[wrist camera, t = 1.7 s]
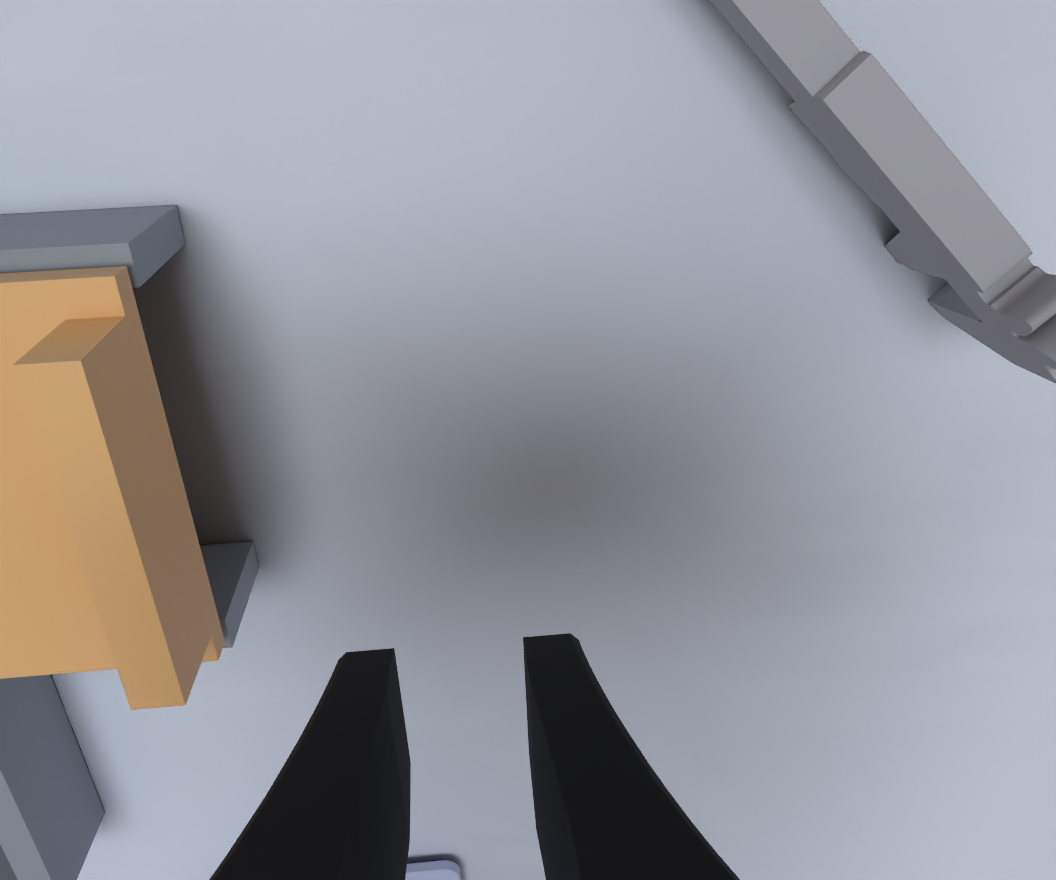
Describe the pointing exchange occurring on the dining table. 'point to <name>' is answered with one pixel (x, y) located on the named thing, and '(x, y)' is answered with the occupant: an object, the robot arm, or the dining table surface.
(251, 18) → the dining table surface
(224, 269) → the dining table surface
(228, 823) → the dining table surface
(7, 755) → the housing
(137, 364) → the lid
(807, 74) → the caliper
